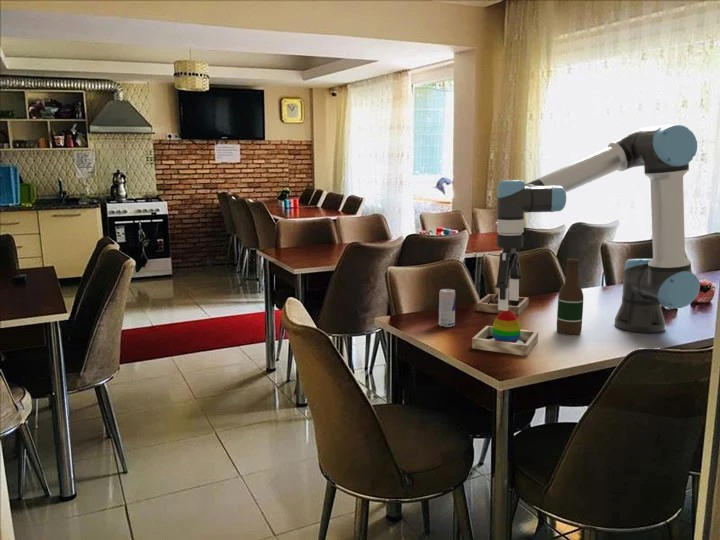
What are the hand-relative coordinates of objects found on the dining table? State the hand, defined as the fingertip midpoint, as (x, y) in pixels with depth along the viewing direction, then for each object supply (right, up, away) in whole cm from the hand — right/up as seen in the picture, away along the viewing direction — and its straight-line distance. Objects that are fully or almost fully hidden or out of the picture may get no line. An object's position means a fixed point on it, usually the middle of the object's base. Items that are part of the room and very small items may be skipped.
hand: (508, 305), depth 176 cm
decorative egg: (0, -12, +2) cm, 12 cm away
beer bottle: (+23, -10, +15) cm, 29 cm away
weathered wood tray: (+10, -4, +48) cm, 49 cm away
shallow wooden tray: (0, -12, +2) cm, 12 cm away
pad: (0, -12, +2) cm, 12 cm away
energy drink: (-15, -8, +24) cm, 30 cm away
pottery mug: (+11, -4, +48) cm, 49 cm away
